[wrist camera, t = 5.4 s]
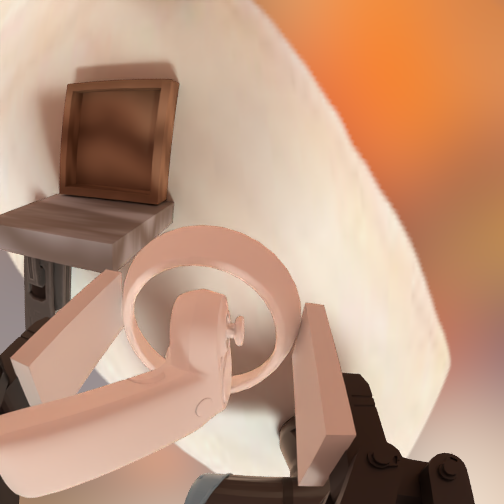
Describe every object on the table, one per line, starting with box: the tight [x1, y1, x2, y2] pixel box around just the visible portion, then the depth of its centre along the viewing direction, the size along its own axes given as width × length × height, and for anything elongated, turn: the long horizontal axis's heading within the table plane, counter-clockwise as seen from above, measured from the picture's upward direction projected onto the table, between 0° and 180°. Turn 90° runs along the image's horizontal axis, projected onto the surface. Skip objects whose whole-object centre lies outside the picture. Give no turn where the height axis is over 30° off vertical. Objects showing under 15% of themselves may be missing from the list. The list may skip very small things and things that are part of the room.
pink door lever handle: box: [0, 225, 301, 498], centre depth 10 cm, size 8×12×7 cm
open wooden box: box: [0, 79, 179, 273], centre depth 27 cm, size 17×16×16 cm
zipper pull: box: [24, 255, 72, 331], centre depth 40 cm, size 9×7×25 cm
